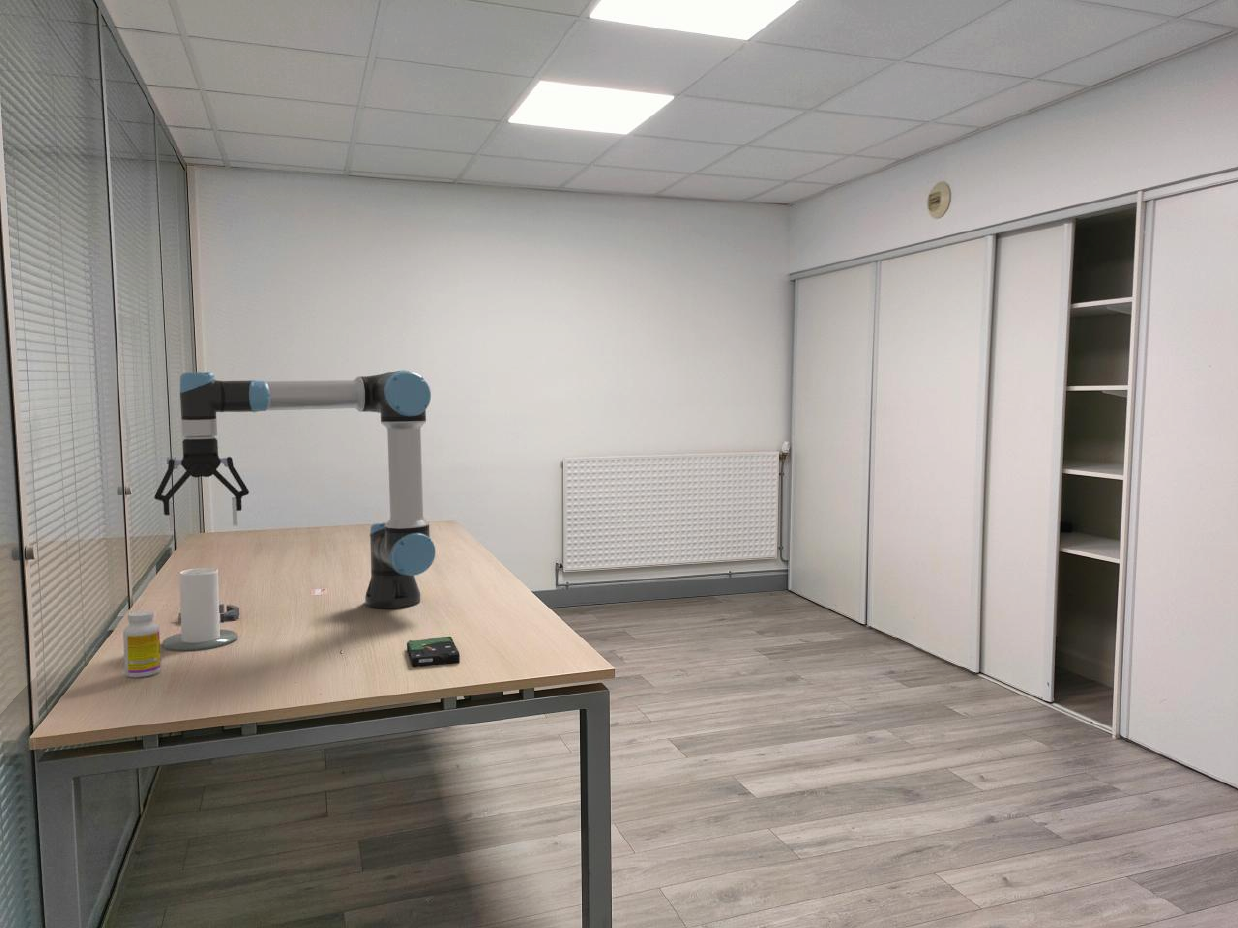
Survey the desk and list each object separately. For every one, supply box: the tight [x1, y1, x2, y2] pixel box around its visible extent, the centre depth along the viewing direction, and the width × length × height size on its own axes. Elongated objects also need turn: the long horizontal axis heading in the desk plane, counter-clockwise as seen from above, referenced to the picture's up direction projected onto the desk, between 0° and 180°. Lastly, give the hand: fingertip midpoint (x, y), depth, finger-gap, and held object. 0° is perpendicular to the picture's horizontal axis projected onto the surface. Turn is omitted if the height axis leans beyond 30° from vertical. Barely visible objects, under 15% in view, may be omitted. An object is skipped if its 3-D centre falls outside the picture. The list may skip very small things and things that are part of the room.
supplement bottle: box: [122, 610, 162, 679], centre depth 184 cm, size 7×7×13 cm
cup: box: [179, 567, 221, 643], centre depth 208 cm, size 8×8×16 cm
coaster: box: [161, 629, 238, 652], centre depth 209 cm, size 16×16×1 cm
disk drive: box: [406, 636, 461, 668], centre depth 197 cm, size 10×3×15 cm
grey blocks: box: [178, 603, 240, 623], centre depth 231 cm, size 17×14×2 cm
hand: (204, 526), depth 210 cm, fingers open, 13 cm apart
